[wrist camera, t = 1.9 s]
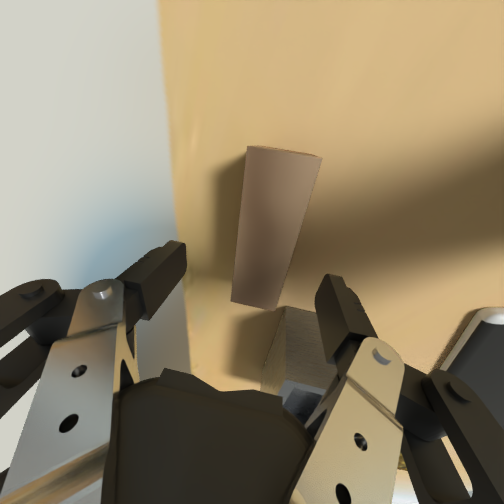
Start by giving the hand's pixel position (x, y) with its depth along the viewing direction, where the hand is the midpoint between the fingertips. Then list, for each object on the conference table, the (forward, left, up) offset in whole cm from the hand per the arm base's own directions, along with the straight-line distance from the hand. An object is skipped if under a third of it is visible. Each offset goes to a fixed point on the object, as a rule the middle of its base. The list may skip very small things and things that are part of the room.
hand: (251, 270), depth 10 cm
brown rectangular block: (0, 0, -8) cm, 8 cm away
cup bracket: (-8, +18, -8) cm, 21 cm away
